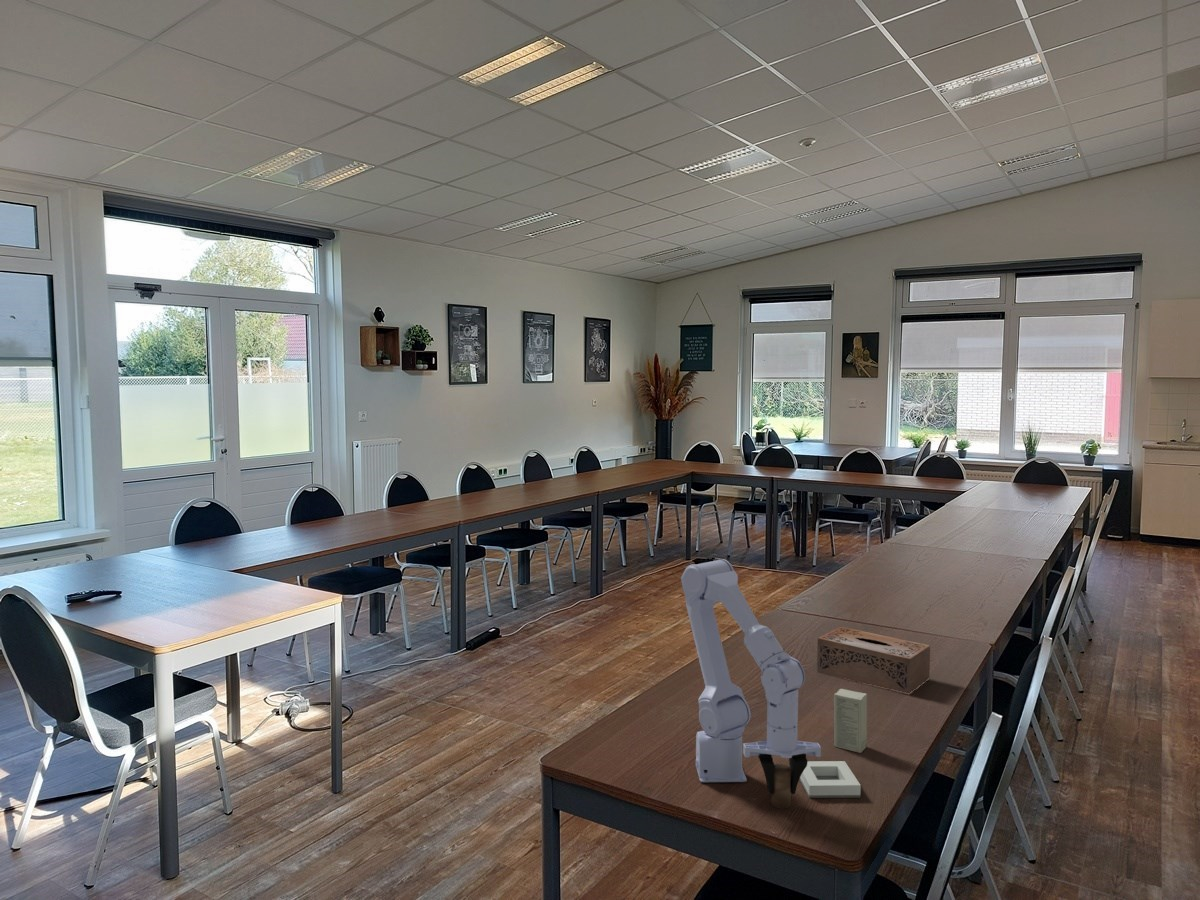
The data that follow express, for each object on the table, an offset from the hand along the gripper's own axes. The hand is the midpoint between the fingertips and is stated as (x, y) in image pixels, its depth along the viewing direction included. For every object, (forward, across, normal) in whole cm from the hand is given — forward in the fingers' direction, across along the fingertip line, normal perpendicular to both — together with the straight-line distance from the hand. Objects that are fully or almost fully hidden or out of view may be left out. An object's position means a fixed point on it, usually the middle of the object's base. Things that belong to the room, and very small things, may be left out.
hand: (781, 791), depth 154 cm
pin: (+2, 0, 0) cm, 2 cm away
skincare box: (+3, +21, +24) cm, 32 cm away
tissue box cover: (+3, +41, +67) cm, 79 cm away
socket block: (+2, +11, +7) cm, 13 cm away
